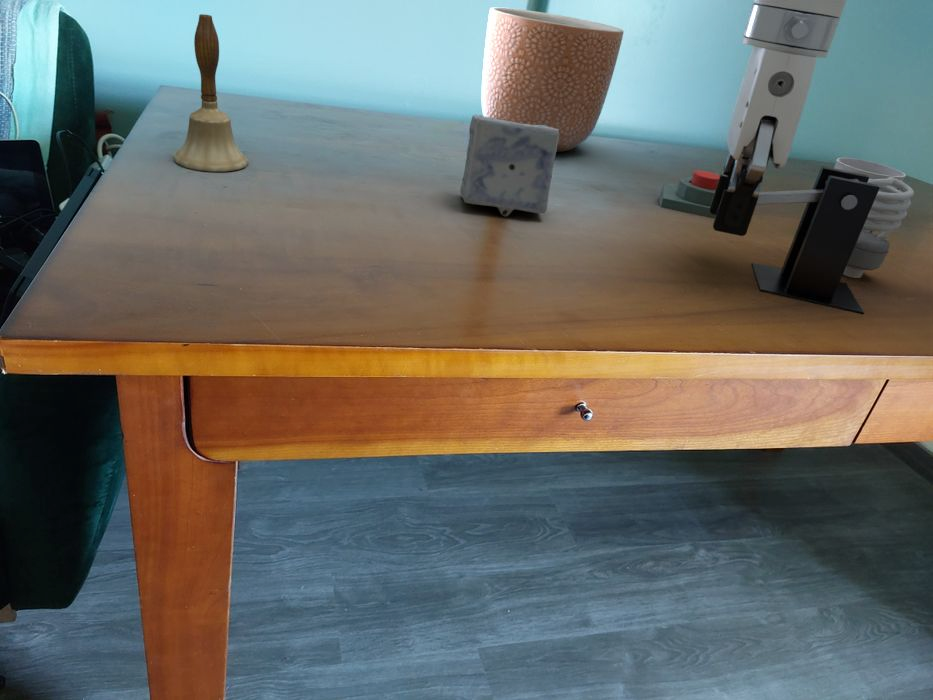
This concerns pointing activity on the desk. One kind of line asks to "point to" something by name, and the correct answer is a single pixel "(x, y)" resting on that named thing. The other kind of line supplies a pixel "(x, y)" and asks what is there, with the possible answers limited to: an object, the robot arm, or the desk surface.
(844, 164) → the cup
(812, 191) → the lever
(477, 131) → the incense holder
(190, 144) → the hand bell
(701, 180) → the button
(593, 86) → the planter
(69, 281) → the desk surface
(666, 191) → the button box
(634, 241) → the desk surface
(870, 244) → the light bulb
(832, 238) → the bracket
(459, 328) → the desk surface
